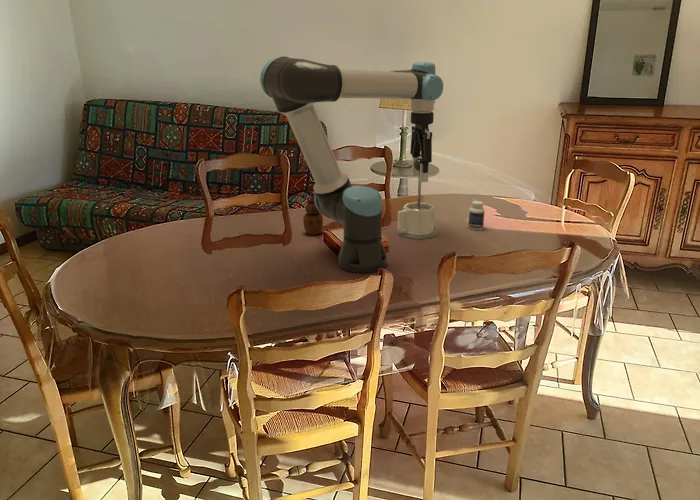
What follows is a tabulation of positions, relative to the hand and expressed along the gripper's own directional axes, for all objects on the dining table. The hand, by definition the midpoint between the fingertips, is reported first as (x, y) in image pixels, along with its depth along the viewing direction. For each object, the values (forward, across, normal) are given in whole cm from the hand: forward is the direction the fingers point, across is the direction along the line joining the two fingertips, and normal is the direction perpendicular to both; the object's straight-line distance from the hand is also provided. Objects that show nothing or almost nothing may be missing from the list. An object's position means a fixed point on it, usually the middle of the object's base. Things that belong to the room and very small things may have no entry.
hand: (419, 178), depth 203 cm
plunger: (+11, 0, 0) cm, 11 cm away
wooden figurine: (+20, +8, +36) cm, 42 cm away
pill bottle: (+20, -1, -22) cm, 29 cm away
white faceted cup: (+20, 0, 0) cm, 20 cm away
